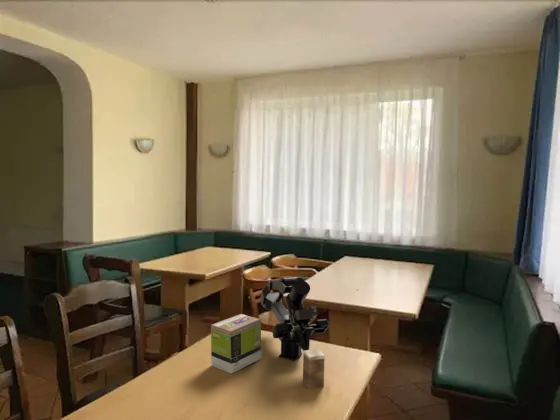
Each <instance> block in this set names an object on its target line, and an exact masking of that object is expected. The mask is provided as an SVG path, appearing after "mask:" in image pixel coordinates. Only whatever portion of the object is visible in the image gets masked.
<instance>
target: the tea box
mask: <svg viewBox="0 0 560 420" xmlns="http://www.w3.org/2000/svg"><path fill="white" fill-rule="evenodd" d="M261 324H262V323H261V319H260V318H257V317H253V316H249V315H246V314H243V313H240V314H236V315H234V316H231V317H229V318H226V319H223V320H220V321H218V322H216V323H212V324H211V325H210V342H211V343H210V345H211V346H210V347H211V348H210V352H211V357H210V358H211V366H212V367H214V368H216V369H219V370H221V371H224V372H225V373H228V374H234V373H235V372H237V371H239V370H241V369H243V368H245V367H248V366H249V365H252V364H253V363H255V362H257V361H259V360H261V359H262V325H261Z"/></svg>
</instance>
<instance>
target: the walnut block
mask: <svg viewBox="0 0 560 420" xmlns="http://www.w3.org/2000/svg"><path fill="white" fill-rule="evenodd" d="M302 351H303V350H302ZM302 355H303V356H302V357H303V358H302V365H303V366H302V382H303V384H304V385H305V386H306V387H307V388H308V389H309V390H311V389H315V388H322V387H324V386H325V354H324V353H323V352H322V350H320V349H319V348H315V349H314V348H313V349H309V350H304V351H303V352H302Z"/></svg>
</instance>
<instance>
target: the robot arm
mask: <svg viewBox="0 0 560 420" xmlns="http://www.w3.org/2000/svg"><path fill="white" fill-rule="evenodd" d="M271 291H275V292H271ZM310 291H311V285H310V284H309V282H307V281H305V280H303V278H302V277H298V276H297V275H296V276H285V277H284V276H283V277H280V278H279V279H270V280H268V281H267V285H266V286H265V287H263V289H262V291H261V293H260V298H259V299H260V304H261V306H262V307H263V308H264V309H265V310H269V311H271V313H272V314H273V315H274V316H275V318H276V319H277V321H278V322H279V323H276V324H275V325H274V326H273V330H272V337H273V339H278V340H279V341H280V353H279V354H278V357H279V358H283V359H285V360H292V361H296V360H297V359H298V358H300V356H301V355H303V352H302V351H304V350H310V344H311V343H310V342H311V341H310V340H311V336H312V335H313V333H315V334H317V335H319V334H324V333H327V332H326V331H327V330H328V329H329V328H330V322H329V320H328V319H326V318H321V319H316V320H315V322H314V323H310V322H312V320H313V319H314V317H317V316H318V310H317V306H316V305H312V306H309V308H306V307H305V306H304V301H306V298H307V296H309V293H310ZM284 294H287V295H286V296H285V298H284ZM283 299H284V301H285V302H284V303H285V305H286V307H285V305H284V304H283Z"/></svg>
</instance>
